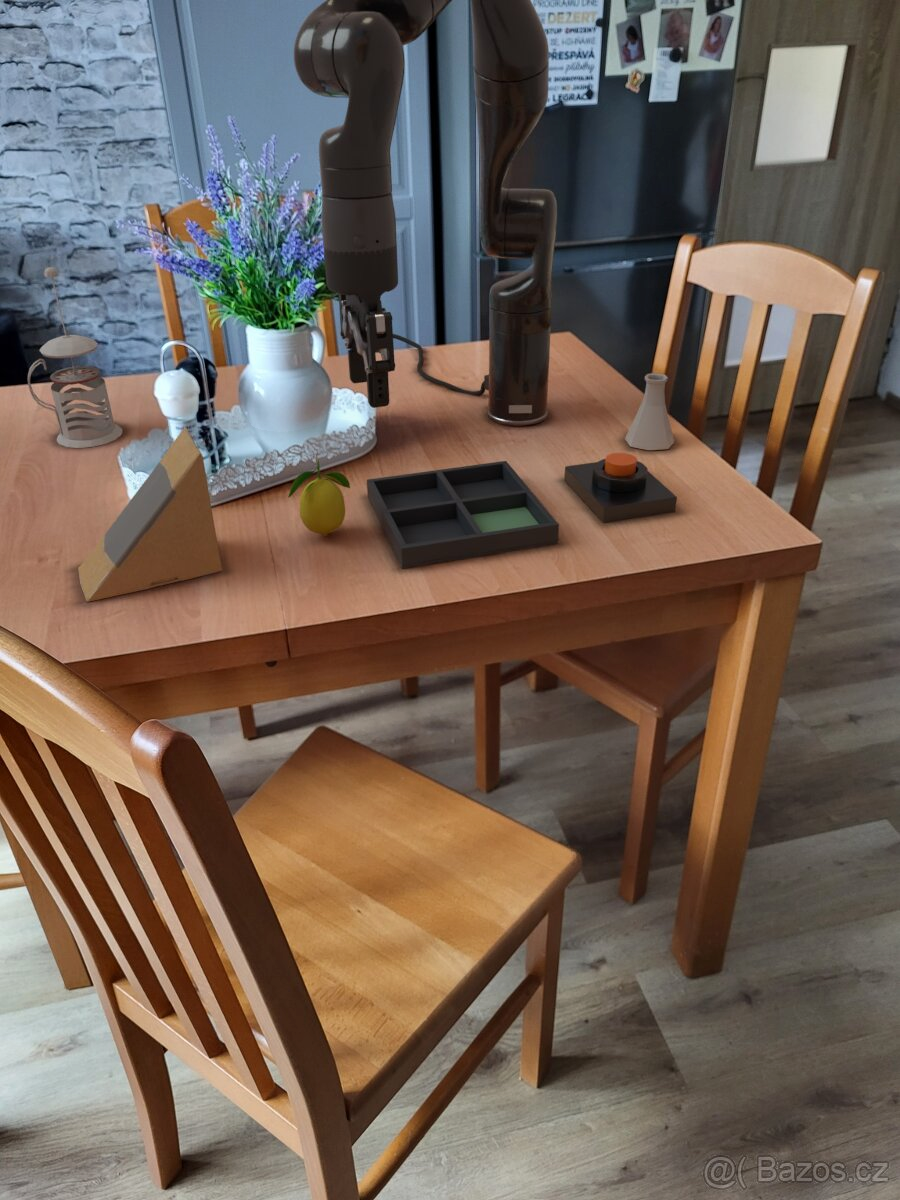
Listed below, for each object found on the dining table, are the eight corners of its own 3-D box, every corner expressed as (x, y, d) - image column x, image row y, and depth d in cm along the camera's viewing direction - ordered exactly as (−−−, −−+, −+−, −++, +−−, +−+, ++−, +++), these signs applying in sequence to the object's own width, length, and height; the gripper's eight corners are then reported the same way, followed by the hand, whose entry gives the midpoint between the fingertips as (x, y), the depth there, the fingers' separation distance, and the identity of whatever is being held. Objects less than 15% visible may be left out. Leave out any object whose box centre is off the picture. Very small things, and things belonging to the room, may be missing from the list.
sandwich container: (76, 568, 110) (44, 449, 102) (206, 539, 115) (185, 425, 107) (85, 603, 103) (52, 479, 95) (222, 571, 108) (202, 451, 100)
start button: (599, 467, 123) (600, 454, 122) (627, 463, 124) (628, 450, 123) (612, 479, 120) (613, 466, 119) (640, 475, 120) (642, 462, 119)
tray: (367, 497, 124) (366, 479, 123) (505, 478, 129) (506, 460, 127) (402, 568, 108) (401, 548, 107) (558, 544, 113) (559, 524, 111)
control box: (564, 481, 128) (565, 453, 126) (631, 471, 130) (633, 444, 128) (603, 523, 117) (605, 494, 115) (675, 512, 119) (678, 484, 117)
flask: (674, 453, 135) (682, 386, 129) (623, 450, 136) (629, 384, 131) (674, 434, 141) (682, 369, 135) (625, 431, 142) (631, 367, 137)
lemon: (294, 547, 113) (285, 472, 108) (300, 525, 118) (291, 451, 113) (349, 547, 113) (343, 471, 108) (353, 524, 118) (347, 450, 113)
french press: (125, 441, 141) (88, 271, 128) (44, 454, 138) (-3, 280, 124) (120, 419, 149) (84, 256, 136) (42, 430, 146) (-2, 264, 132)
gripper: (415, 251, 91) (419, 410, 100) (377, 226, 103) (384, 370, 111) (339, 258, 89) (351, 419, 98) (310, 231, 101) (322, 377, 109)
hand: (369, 393), depth 104 cm, fingers open, 8 cm apart
